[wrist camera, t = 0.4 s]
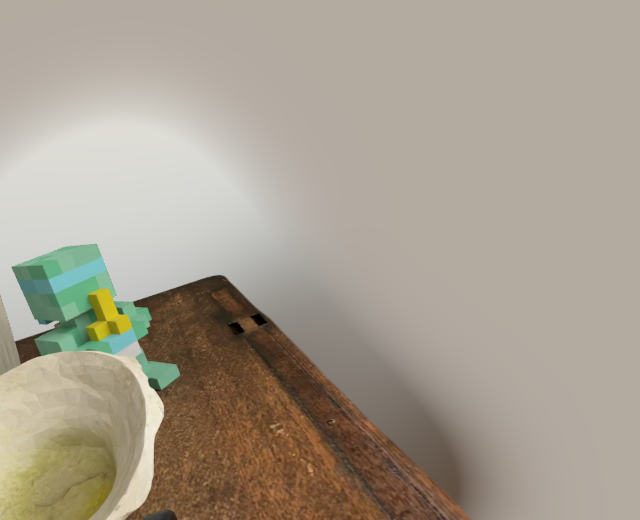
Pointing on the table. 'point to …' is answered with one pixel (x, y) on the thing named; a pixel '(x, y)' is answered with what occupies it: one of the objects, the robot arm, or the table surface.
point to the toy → (86, 309)
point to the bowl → (76, 437)
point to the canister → (7, 344)
